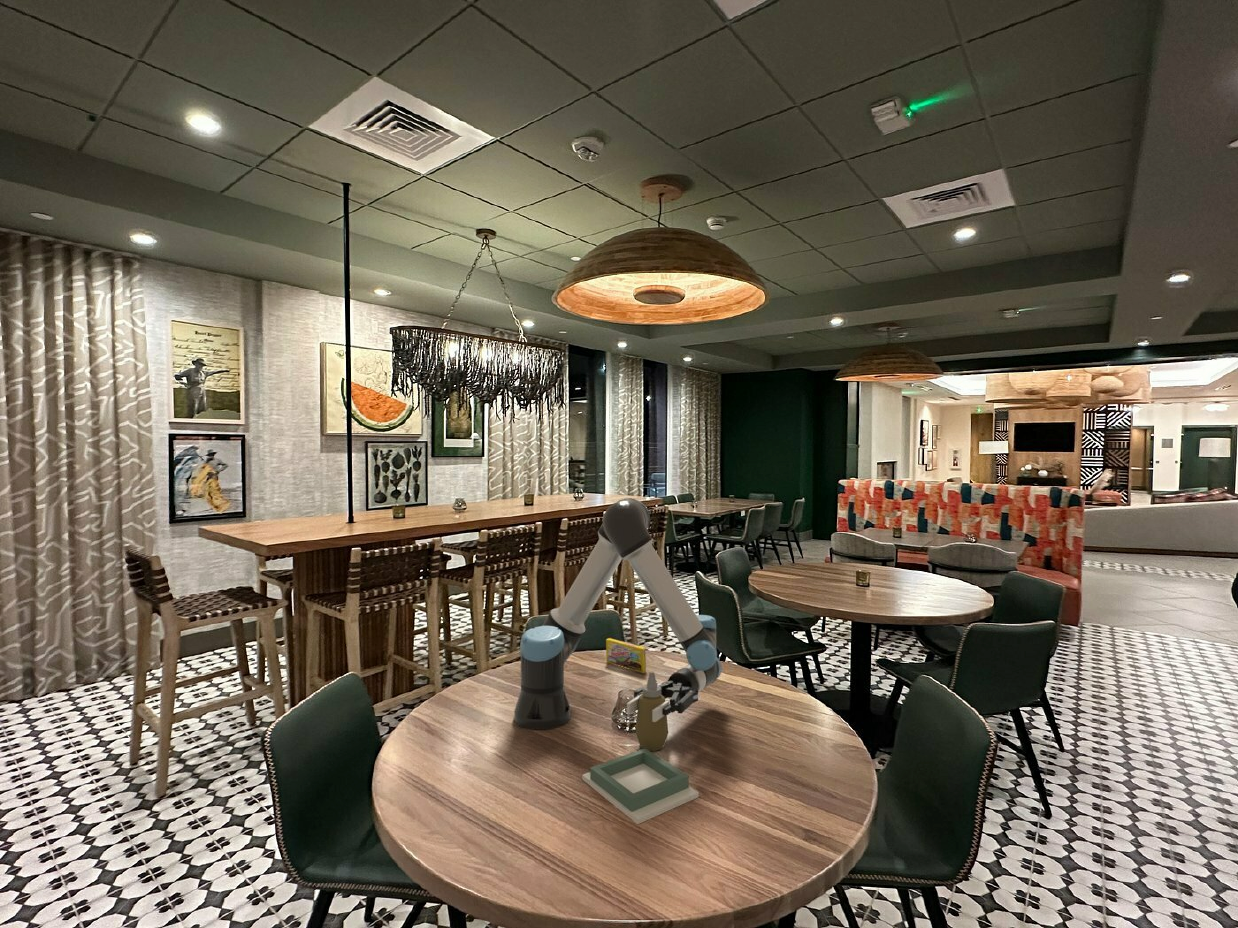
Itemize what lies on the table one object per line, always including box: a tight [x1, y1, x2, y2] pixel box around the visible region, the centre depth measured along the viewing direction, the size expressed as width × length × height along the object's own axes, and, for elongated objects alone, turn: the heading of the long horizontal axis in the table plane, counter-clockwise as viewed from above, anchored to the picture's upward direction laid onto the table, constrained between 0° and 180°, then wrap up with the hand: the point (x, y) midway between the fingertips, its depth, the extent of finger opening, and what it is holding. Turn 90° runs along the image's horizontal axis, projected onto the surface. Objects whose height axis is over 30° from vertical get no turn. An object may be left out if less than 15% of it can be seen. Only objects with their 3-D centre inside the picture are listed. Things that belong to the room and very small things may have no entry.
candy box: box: [605, 637, 647, 674], centre depth 203 cm, size 16×2×8 cm, turn 50°
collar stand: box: [581, 748, 700, 825], centre depth 128 cm, size 20×16×4 cm
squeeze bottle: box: [635, 671, 669, 752], centre depth 147 cm, size 8×8×18 cm
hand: (640, 712), depth 143 cm, fingers closed on squeeze bottle, 6 cm apart
